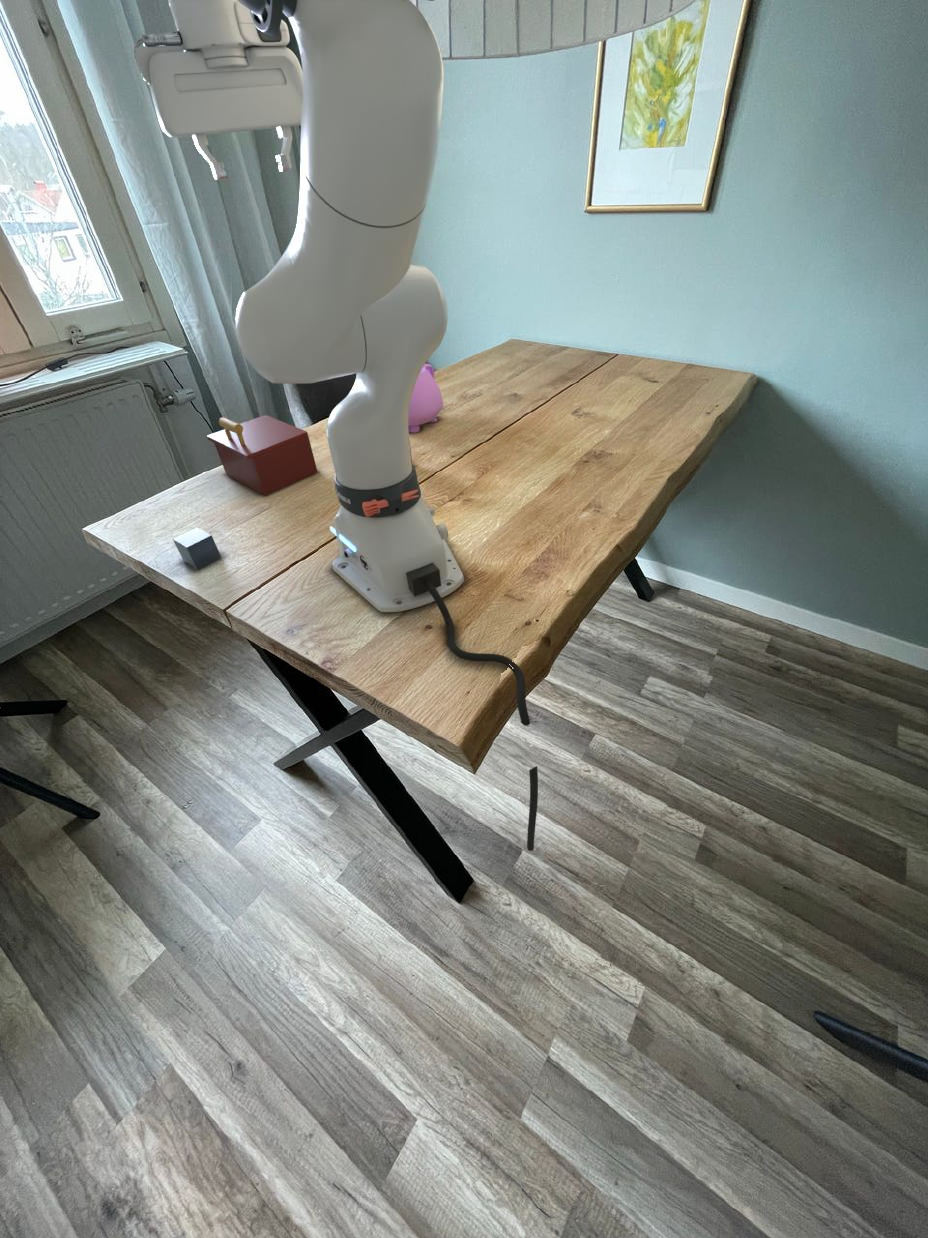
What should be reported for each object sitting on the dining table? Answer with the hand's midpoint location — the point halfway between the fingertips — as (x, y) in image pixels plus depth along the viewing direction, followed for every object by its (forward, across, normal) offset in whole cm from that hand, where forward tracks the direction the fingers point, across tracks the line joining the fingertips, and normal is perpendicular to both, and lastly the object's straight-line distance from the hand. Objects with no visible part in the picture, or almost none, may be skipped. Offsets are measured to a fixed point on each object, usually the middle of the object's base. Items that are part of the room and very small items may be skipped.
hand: (254, 174), depth 75 cm
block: (+47, -29, -14) cm, 57 cm away
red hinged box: (+47, -11, +11) cm, 49 cm away
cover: (+39, -11, +11) cm, 42 cm away
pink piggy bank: (+48, +25, +16) cm, 56 cm away
